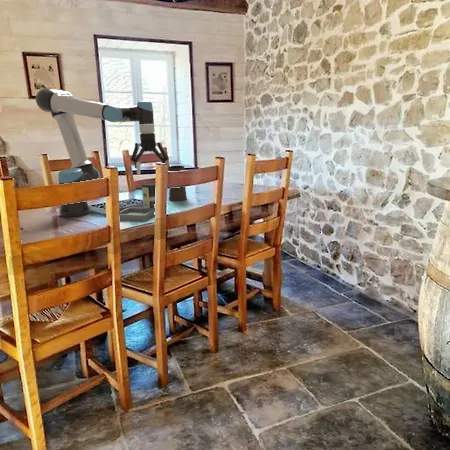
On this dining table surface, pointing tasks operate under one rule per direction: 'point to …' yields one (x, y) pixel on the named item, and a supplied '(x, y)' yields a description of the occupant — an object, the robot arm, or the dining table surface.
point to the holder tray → (136, 214)
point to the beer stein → (177, 193)
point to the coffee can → (148, 195)
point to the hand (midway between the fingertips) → (150, 174)
